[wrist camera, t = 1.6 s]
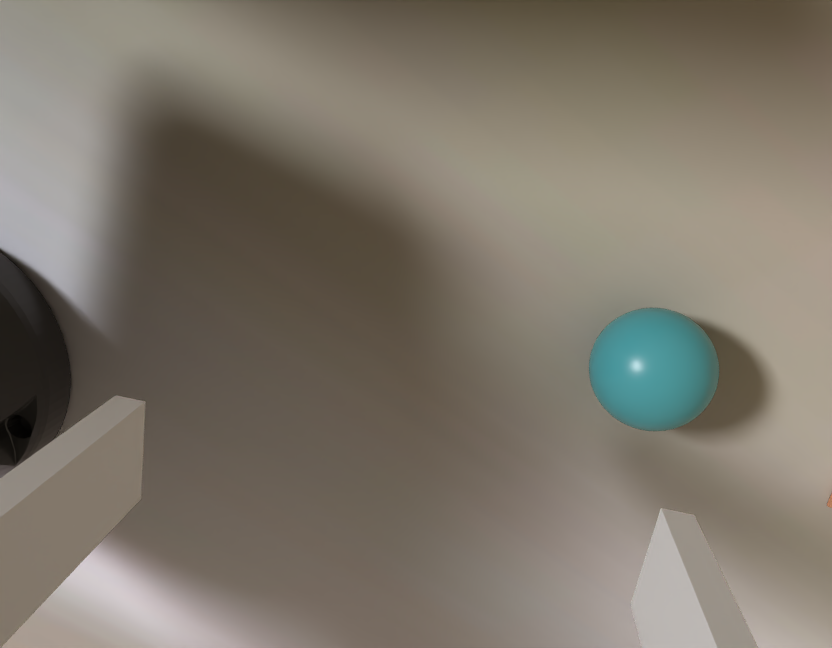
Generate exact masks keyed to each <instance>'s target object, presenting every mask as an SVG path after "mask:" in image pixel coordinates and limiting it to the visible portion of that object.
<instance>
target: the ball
mask: <svg viewBox="0 0 832 648" xmlns="http://www.w3.org/2000/svg"><path fill="white" fill-rule="evenodd" d="M589 375H590V381H591V385H592V388H593V391H594V393H595V395H596V397H597V399H598V400H599V402H600V403H601V405H602V406H603V407H604V408H605V409H606V410H607V411H608V412H609V413H610V414H611V415H612V416H613V417H614V418H616V419H617V420H619V421H620V422H622V423H624V424H626V425H628V426H631V427H633V428H637V429H640V430H646V431H665V430H670V429H674V428H677V427H680V426H683V425H685V424H687V423H689V422H690V421H692V420H693V419H695V418H696V417H697V416H699V415H700V414H701V413H702V412H703V411H704V410H705V408H706V407H707V406H708V404H709V403H710V401H711V400H712V398H713V396H714V394H715V391H716V389H717V385H718V380H719V362H718V357H717V353H716V350H715V347H714V345H713V343H712V342H711V340H710V338H709V337H708V335H707V334H706V333H705V331H704V330H703V329H702V328H701V327H700V326H699V325H698V324H696V323H695V322H694V321H692V320H691V319H690V318H688V317H686V316H684V315H682V314H680V313H678V312H675V311H671V310H667V309H662V308H643V309H638V310H634V311H631V312H628V313H626V314H624V315H622V316H620V317H618V318H617V319H615V320H614V321H612V322H611V323H610V324H609V325H608V326H606V328H605V329H604V330H603V331H602V332H601V333H600V335H599V336H598V338H597V340H596V342H595V343H594V346H593V349H592V351H591V355H590V360H589Z"/></svg>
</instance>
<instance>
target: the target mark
mask: <svg viewBox="0 0 832 648" xmlns="http://www.w3.org/2000/svg"><path fill="white" fill-rule="evenodd" d="M827 506H828V507H831V508H832V494H831V496H830V498H829V501H828V503H827Z"/></svg>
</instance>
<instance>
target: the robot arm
mask: <svg viewBox="0 0 832 648" xmlns="http://www.w3.org/2000/svg"><path fill="white" fill-rule="evenodd" d="M69 396H70V367H69V360H68V355H67V350H66V346H65V343H64V340H63V337H62V334H61V331H60V329H59V326H58V324H57V322H56V320H55V317H54V315H53V314H52V312H51V310H50V308H49V306H48V305H47V303H46V301H45V300H44V298H43V297H42V295H41V294H40V293H39V291H38V290H37V288H36V287H35V286H34V285H33V283H32V282H31V281H30V280H29V279H28V277H27V276H26V275H25V274H24V273H23V272H22V271H21V270H20V269H19V268H18V267H17V266H16V265H15V264H14V263H13V262H11V261H10V260H9V259H8V258H7V257H6V256H4V255H3V254H2V253H0V648H1V647H2V646H3V645H4V644H5V643H6V642H7V641H8V639H9V638H10V637H11V636H12V635H13V634H14V633H15V632H16V631H17V630H18V629H19V628H20V627H21V626H22V625H23V624H24V623H25V621H26V620H27V619H28V618H29V617H30V616H31V615H32V614H33V613H34V612H35V611H36V610H37V609H38V608H39V607H40V606H41V605H42V603H43V602H44V601H45V600H46V599H47V598H48V597H49V596H50V595H51V594H52V593H53V592H54V591H55V590H56V589H57V588H58V587H59V585H60V584H61V583H62V582H63V581H64V580H65V579H66V578H67V577H68V576H69V575H70V574H71V573H72V572H73V571H74V570H75V568H76V567H77V566H78V565H79V564H80V563H81V562H82V561H83V560H84V559H85V558H86V557H87V556H88V555H89V554H90V553H91V552H92V550H93V549H94V548H95V547H96V546H97V545H98V544H99V543H100V542H101V541H102V540H103V539H104V538H105V537H106V536H107V535H108V534H109V532H110V531H111V530H112V529H113V528H114V527H115V526H116V525H117V524H118V523H119V522H120V521H121V520H122V519H123V518H124V517H125V516H126V514H127V513H128V512H129V511H130V510H131V509H132V508H133V507H134V506H135V505H136V504H137V503H138V502H139V501H140V500H141V494H142V471H143V448H144V425H145V402H146V401H142V400H137V399H132V398H127V397H122V396H117V395H115V396H114V397H112V398H111V399H110V400H108V401H107V402H105V403H104V404H103V405H101V406H100V407H99V408H97V409H96V410H94V411H93V412H92V413H90V414H89V415H87V416H86V417H85V418H83V419H82V420H81V421H79V422H78V423H76V424H75V425H74V426H72V427H71V428H69V429H68V430H67V431H65V432H64V433H63V434H61V435H60V436H58V437H57V438H56V439H54V438H55V436H56V435H57V433H58V431H59V429H60V427H61V425H62V423H63V420H64V418H65V415H66V411H67V407H68V403H69ZM53 439H54V440H53ZM630 605H631V609H632V613H633V617H634V621H635V624H636V628H637V632H638V636H639V640H640V644H641V647H642V648H758V646H757V644H756V642H755V640H754V638H753V636H752V634H751V632H750V630H749V627H748V625H747V623H746V621H745V619H744V617H743V615H742V613H741V611H740V609H739V607H738V605H737V603H736V600H735V598H734V596H733V594H732V592H731V590H730V588H729V586H728V584H727V582H726V580H725V578H724V575H723V573H722V571H721V569H720V567H719V565H718V563H717V561H716V559H715V557H714V555H713V553H712V550H711V548H710V546H709V544H708V542H707V540H706V538H705V536H704V534H703V532H702V530H701V528H700V525H699V523H698V521H697V519H696V517H695V515H693V514H688V513H684V512H679V511H674V510H669V509H664V508H661V509H660V512H659V516H658V519H657V522H656V525H655V528H654V531H653V535H652V538H651V541H650V544H649V547H648V550H647V554H646V557H645V560H644V563H643V566H642V569H641V573H640V576H639V579H638V582H637V585H636V588H635V592H634V595H633V598H632V601H631V604H630Z"/></svg>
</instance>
